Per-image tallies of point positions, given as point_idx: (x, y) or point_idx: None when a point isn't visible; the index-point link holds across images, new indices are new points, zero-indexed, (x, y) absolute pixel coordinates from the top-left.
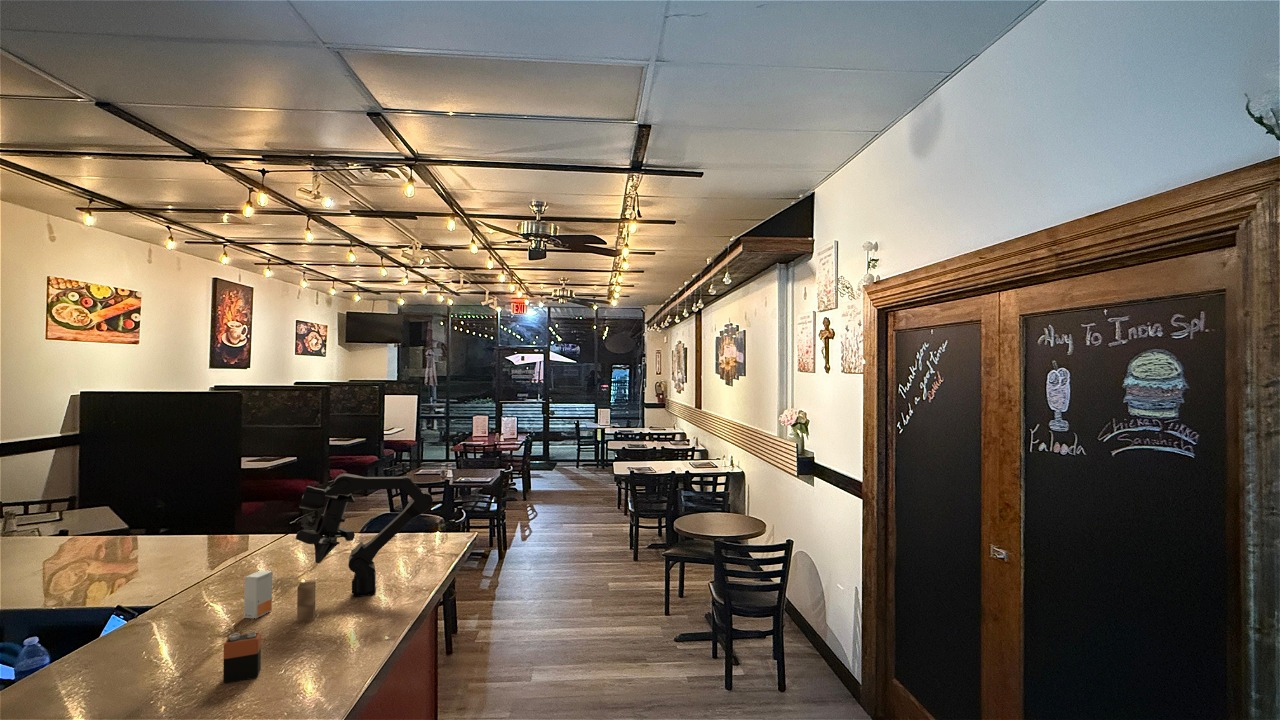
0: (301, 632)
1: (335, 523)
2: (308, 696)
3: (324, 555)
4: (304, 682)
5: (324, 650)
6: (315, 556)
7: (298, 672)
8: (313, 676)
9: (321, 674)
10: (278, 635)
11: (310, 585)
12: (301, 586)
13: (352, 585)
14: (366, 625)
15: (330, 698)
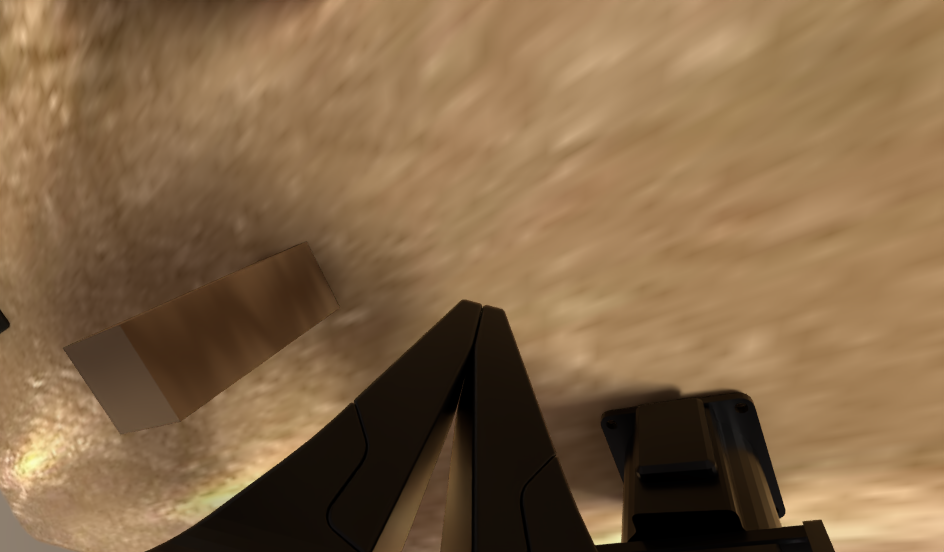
0: None
1: None
2: (14, 470)
3: (448, 492)
4: (35, 448)
5: (139, 445)
6: (409, 352)
7: (50, 421)
8: (55, 458)
9: (67, 471)
10: (154, 249)
11: (120, 414)
12: (87, 364)
13: (636, 446)
14: None
15: (30, 507)
